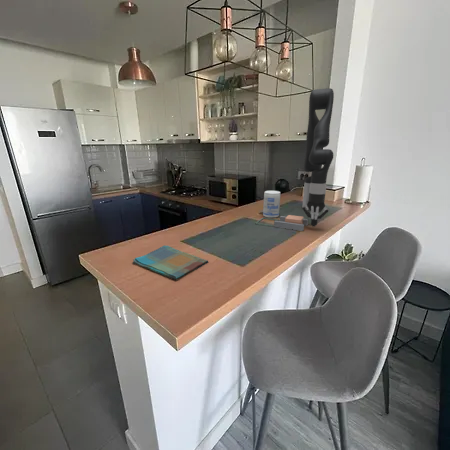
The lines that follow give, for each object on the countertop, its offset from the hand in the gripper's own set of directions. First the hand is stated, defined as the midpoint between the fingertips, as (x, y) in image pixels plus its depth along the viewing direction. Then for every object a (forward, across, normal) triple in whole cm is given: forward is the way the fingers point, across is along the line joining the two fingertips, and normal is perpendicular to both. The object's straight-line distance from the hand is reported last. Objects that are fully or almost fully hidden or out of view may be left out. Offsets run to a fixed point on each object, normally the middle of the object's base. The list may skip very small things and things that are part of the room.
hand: (313, 225), depth 126 cm
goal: (+2, +24, 0) cm, 25 cm away
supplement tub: (+2, +27, -13) cm, 30 cm away
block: (+2, +10, 0) cm, 10 cm away
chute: (+2, +12, 0) cm, 12 cm away
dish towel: (+3, +40, +63) cm, 75 cm away
